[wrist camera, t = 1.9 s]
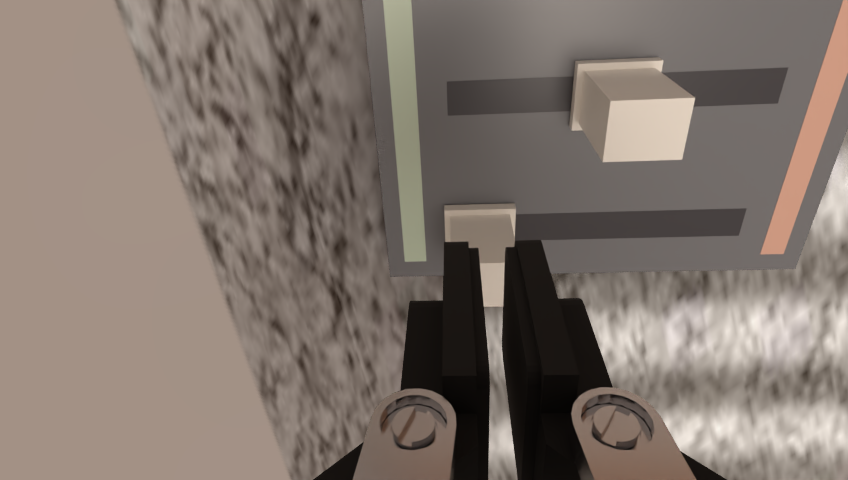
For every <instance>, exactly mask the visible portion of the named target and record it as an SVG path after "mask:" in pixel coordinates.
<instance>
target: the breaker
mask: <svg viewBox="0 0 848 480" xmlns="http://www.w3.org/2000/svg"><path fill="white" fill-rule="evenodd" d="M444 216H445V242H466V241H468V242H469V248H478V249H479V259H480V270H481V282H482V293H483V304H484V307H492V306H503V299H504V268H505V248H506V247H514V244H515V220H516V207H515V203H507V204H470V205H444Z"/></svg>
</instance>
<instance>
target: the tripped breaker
mask: <svg viewBox="0 0 848 480" xmlns="http://www.w3.org/2000/svg"><path fill="white" fill-rule="evenodd" d="M663 61H664V60H662V59H661V58H659V57H653V58H629V59H606V60H582V61H575V70H574V81H573V92H572V102H571V113H570V124H569V127H570V128H571V130H572V131H578V130H583V131H584V133H585V135H586V136H587V138H588V139H589V141H590V143H591V144H592V146H593V148H594V149H595V151H596V152H597V154H598V156H599V157H600V159H601V160H602V162H625V161H657V160H682V158H683V153H684V149H685V144H686V139H687V135H688V130H689V125H690V120H691V116H692V111H693V106H694V102H695V97H694V96H692V95H691V94H690V93H688V92H687V91H686V90H684V89H683V88H682V87H680V86H679V85H678V84H676V83H675V82H673V81H672V80H671V79H669V78H668V77H667V76H665V75H664V74H663V73H661V72H662V67H663Z"/></svg>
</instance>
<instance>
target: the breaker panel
mask: <svg viewBox="0 0 848 480" xmlns="http://www.w3.org/2000/svg"><path fill="white" fill-rule="evenodd" d="M362 5H363V15H364V25H365V35H366V44H367V54H368V64H369V74H370V84H371V93H372V103H373V113H374V123H375V133H376V142H377V152H378V162H379V172H380V182H381V191H382V201H383V211H384V221H385V231H386V240H387V250H388V260H389V270H390V277H396V276H443V272H444V242H445V216H444V205H470V204H507V203H515V207H516V220H515V240H541V241H542V244H543V248H544V251H545V255H546V259H547V262H548V266H549V269H550V273H551V274H555V273H607V272H660V271H713V270H766V269H795V268H796V265H797V263H798V260H799V257H800V255H801V252H802V249H803V247H804V244H805V241H806V239H807V236H808V233H809V231H810V228H811V225H812V223H813V220H814V217H815V215H816V212H817V209H818V207H819V204H820V201H821V198H822V196H823V193H824V190H825V188H826V185H827V182H828V180H829V177H830V174H831V172H832V169H833V166H834V164H835V161H836V158H837V156H838V153H839V150H840V148H841V145H842V142H843V140H844V137H845V134H846V132H847V129H848V0H362ZM653 57H659V58H661V59H662V60H664V61H663V67H662V72H661V73H663V74H664V75H665V76H667V77H668V78H669V79H671V80H672V81H673V82H675V83H676V84H678V85H679V86H680V87H682V88H683V89H684V90H686V91H687V92H688V93H690V94H691V95H692V96H694V97H695V102H694V106H693V111H692V116H691V120H690V125H689V130H688V135H687V139H686V144H685V149H684V153H683V158H682V160H657V161H625V162H602V160H601V159H600V157H599V156H598V154H597V152H596V151H595V149H594V148H593V146H592V144H591V143H590V141H589V139H588V138H587V136H586V135H585V133H584V131H583V130H578V131H572V130H571V128H570V127H569V124H570V113H571V102H572V92H573V81H574V70H575V61H582V60H606V59H629V58H653Z"/></svg>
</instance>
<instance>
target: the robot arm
mask: <svg viewBox="0 0 848 480" xmlns="http://www.w3.org/2000/svg"><path fill="white" fill-rule="evenodd" d="M502 352H503V362H504V370H505V378H506V386H507V395H508V403H509V411H510V419H511V427H512V435H513V444H514V452H515V460H516V468H517V476H518V480H726V479H725V478H723V477H721V476H720V475H718V474H717V473H715V472H713V471H712V470H710V469H708V468H707V467H705V466H704V465H702V464H700V463H699V462H697V461H695V460H694V459H692V458H690V457H689V456H687V455H686V454H684V453H682V452H681V451H680V450H679V448H678V446H677V445H676V443H675V441H674V439H673V438H672V436H671V434H670V432H669V431H668V429H667V427H666V425H665V423H664V422H663V420H662V418H661V416H660V415H659V414H658V413H657V411H656V410H655V409H654V407H653V406H652V405H651V404H649V403H648V402H647V401H645V400H644V399H643V398H642V397H640V396H638V395H635V394H633V393H631V392H629V391H626V390H622V389H618V388H613V387H612V384H611V381H610V378H609V375H608V372H607V369H606V366H605V364H604V361H603V358H602V355H601V352H600V349H599V346H598V343H597V341H596V338H595V335H594V332H593V329H592V326H591V323H590V320H589V317H588V315H587V312H586V309H585V306H584V303H583V301H582V300H581V299H580V298H569V299H558V297H557V294H556V290H555V287H554V283H553V280H552V276H551V273H550V269H549V266H548V262H547V259H546V255H545V251H544V248H543V244H542V241H541V240H515V244H514V247H506V248H505V268H504V299H503V329H502ZM489 395H490V379H489V360H488V349H487V338H486V327H485V315H484V304H483V293H482V282H481V270H480V259H479V249H478V248H469V242H468V241H466V242H444V272H443V301H410V303H409V312H408V321H407V331H406V341H405V351H404V361H403V371H402V381H401V390H400V391H398V392H395V393H393V394H391V395H390V396H388V397H386V398H385V399H384V400H383V401H382V402H381V403H380V404H379V405H378V406H377V407H376V408H375V410H374V412H373V414H372V416H371V419H370V422H369V426H368V429H367V433H366V436H365V439H364V442H363V443H362V444H360V445H359V446H358V447H356V448H355V449H354V450H352V451H351V452H350V453H348V454H347V455H346V456H344V457H343V458H342V459H340V460H339V461H338V462H336V463H335V464H334V465H332V466H331V467H330V468H328V469H327V470H326V471H324V472H323V473H322V474H320V475H319V476H318V477H316V478H315V479H314V480H488V451H489Z"/></svg>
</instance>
